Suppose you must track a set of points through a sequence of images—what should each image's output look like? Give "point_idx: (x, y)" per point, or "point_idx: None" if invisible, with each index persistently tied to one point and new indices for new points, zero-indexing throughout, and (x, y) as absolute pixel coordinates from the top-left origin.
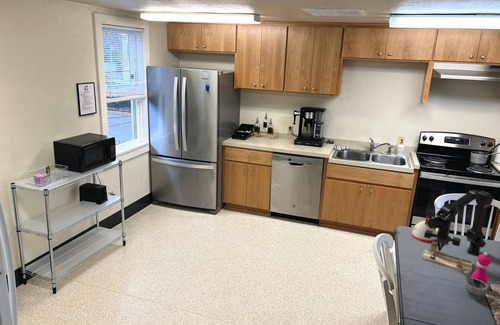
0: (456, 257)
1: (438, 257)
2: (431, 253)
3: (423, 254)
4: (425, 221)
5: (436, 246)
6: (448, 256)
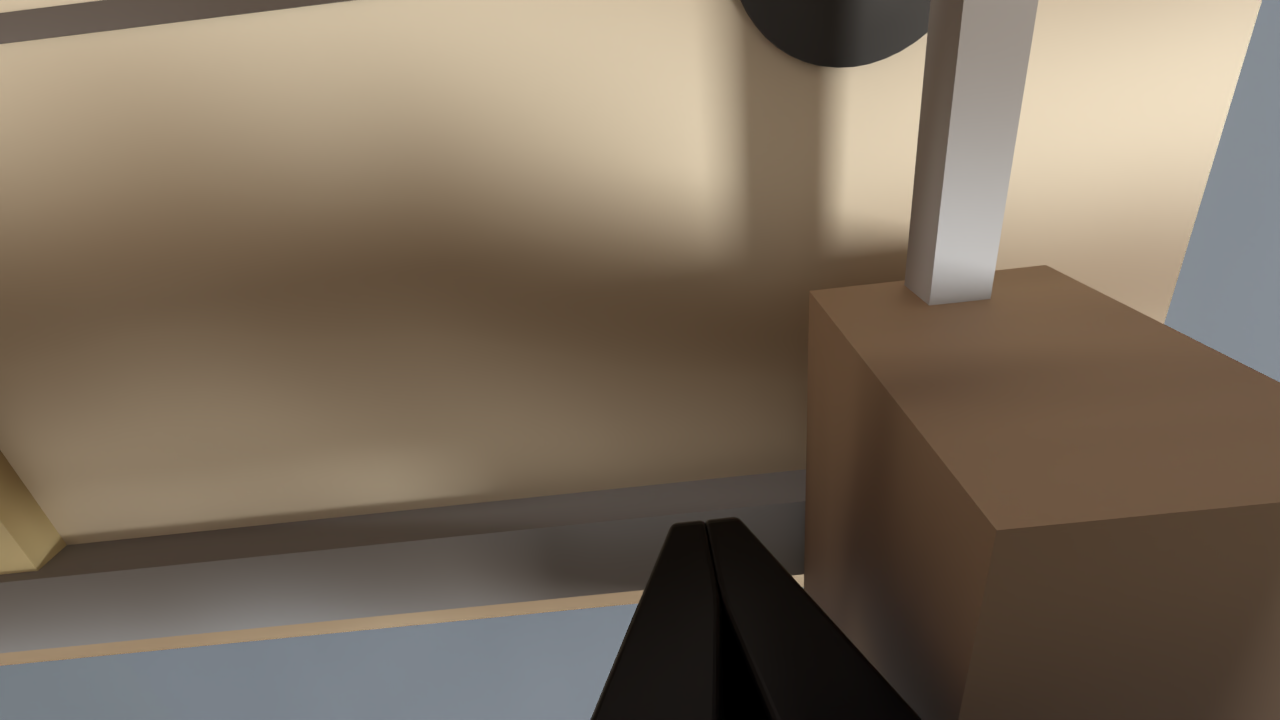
0: (149, 598)
1: (635, 226)
2: (1015, 87)
3: (1256, 7)
4: None
5: (988, 669)
6: (384, 523)
